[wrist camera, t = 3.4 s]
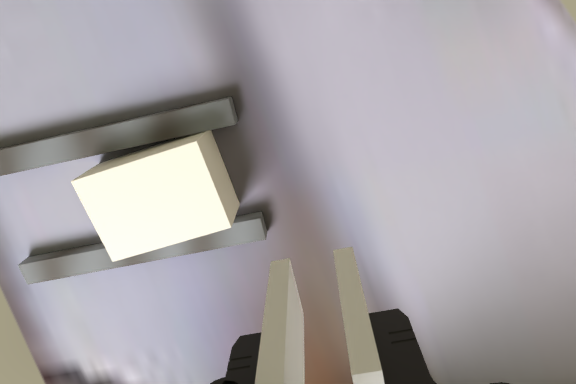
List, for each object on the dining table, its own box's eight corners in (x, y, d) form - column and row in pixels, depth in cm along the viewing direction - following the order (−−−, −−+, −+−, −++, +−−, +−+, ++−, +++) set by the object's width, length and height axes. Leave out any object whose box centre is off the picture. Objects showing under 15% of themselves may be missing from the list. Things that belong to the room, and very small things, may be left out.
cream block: (210, 126, 35) (196, 141, 30) (240, 203, 37) (231, 227, 33) (100, 162, 36) (70, 181, 32) (135, 234, 39) (112, 261, 34)
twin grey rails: (231, 96, 34) (228, 98, 33) (267, 231, 38) (265, 239, 36) (-22, 153, 36) (-35, 157, 35) (37, 275, 40) (27, 284, 39)
